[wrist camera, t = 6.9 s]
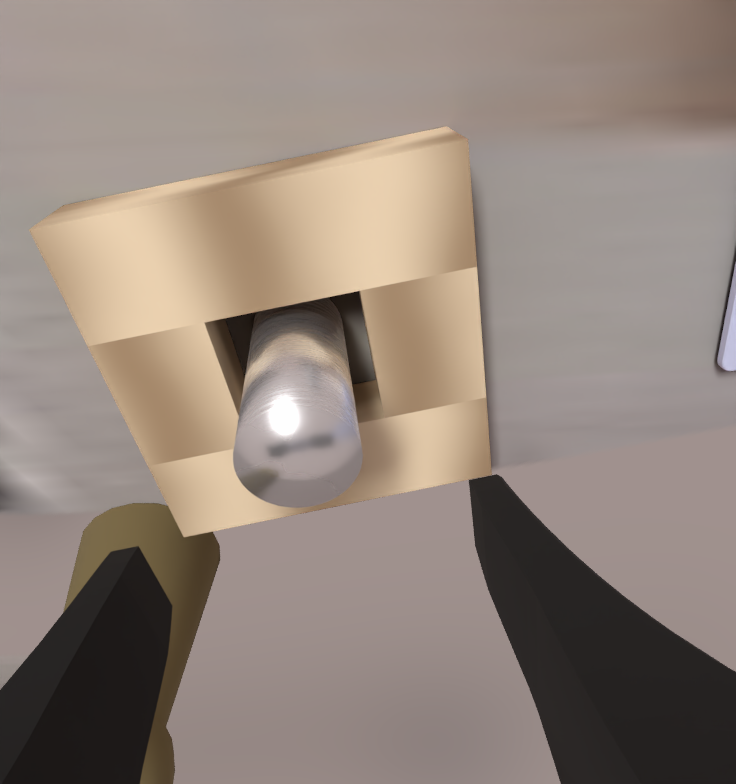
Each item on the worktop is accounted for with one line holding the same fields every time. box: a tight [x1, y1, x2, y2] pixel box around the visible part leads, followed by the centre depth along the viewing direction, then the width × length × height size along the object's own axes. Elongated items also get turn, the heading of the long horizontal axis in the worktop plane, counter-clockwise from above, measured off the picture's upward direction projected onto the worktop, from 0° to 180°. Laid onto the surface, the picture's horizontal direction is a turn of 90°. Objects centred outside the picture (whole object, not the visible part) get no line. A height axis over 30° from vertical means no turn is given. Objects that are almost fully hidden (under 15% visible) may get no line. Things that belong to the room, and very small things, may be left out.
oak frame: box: [29, 127, 492, 537], centre depth 19 cm, size 12×12×3 cm
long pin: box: [233, 297, 363, 508], centre depth 17 cm, size 3×3×8 cm
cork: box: [63, 503, 220, 784], centre depth 21 cm, size 6×6×11 cm
